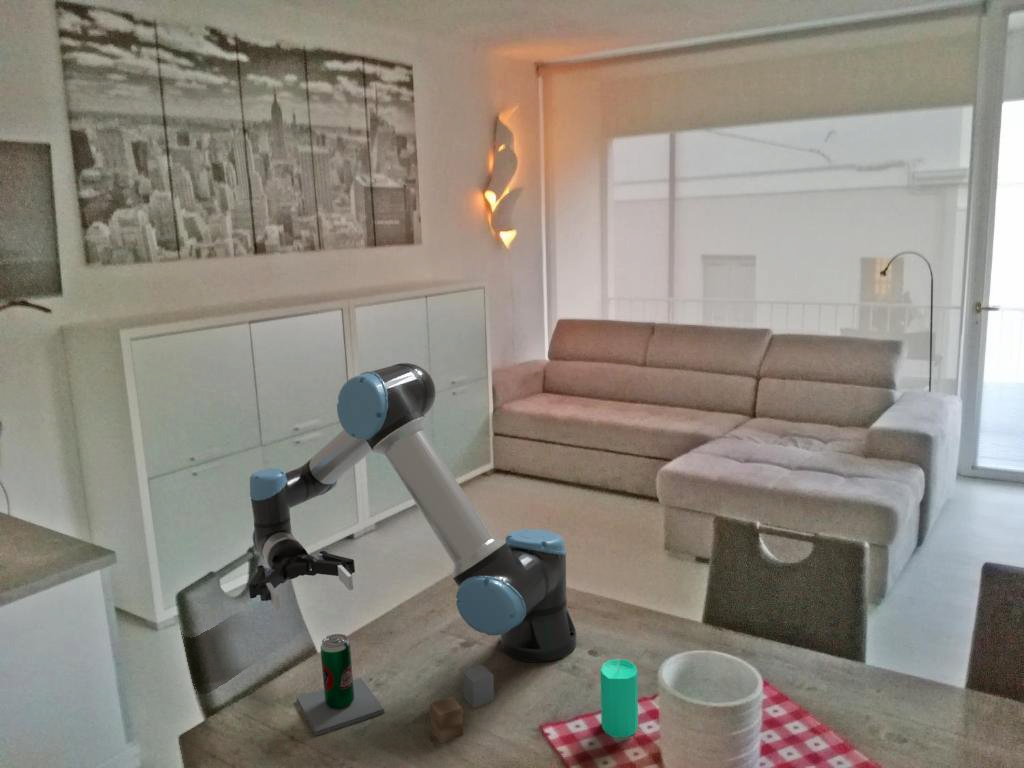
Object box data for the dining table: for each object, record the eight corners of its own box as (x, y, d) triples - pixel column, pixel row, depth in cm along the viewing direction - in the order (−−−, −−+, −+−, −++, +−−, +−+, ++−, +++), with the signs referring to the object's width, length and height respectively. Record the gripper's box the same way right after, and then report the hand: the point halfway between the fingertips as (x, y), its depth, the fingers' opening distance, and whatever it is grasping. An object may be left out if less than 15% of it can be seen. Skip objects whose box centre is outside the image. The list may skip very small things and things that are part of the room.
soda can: (348, 711, 142) (342, 647, 140) (320, 709, 143) (315, 646, 141) (358, 695, 147) (353, 633, 145) (332, 693, 148) (327, 631, 146)
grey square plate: (361, 681, 153) (360, 677, 153) (384, 712, 143) (383, 708, 143) (297, 701, 147) (296, 697, 147) (316, 735, 137) (315, 731, 137)
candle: (614, 711, 141) (613, 647, 138) (644, 724, 137) (644, 658, 135) (594, 728, 136) (593, 662, 134) (625, 742, 132) (624, 674, 130)
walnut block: (453, 722, 139) (451, 696, 138) (463, 735, 136) (461, 707, 135) (431, 730, 137) (429, 703, 136) (441, 743, 134) (439, 715, 133)
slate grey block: (483, 690, 149) (482, 665, 148) (494, 700, 145) (493, 675, 144) (464, 697, 147) (462, 671, 146) (474, 707, 143) (472, 681, 142)
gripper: (346, 559, 175) (381, 594, 157) (225, 589, 163) (247, 630, 145) (343, 525, 174) (377, 557, 155) (220, 553, 162) (242, 590, 144)
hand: (314, 592), depth 150 cm, fingers open, 13 cm apart
